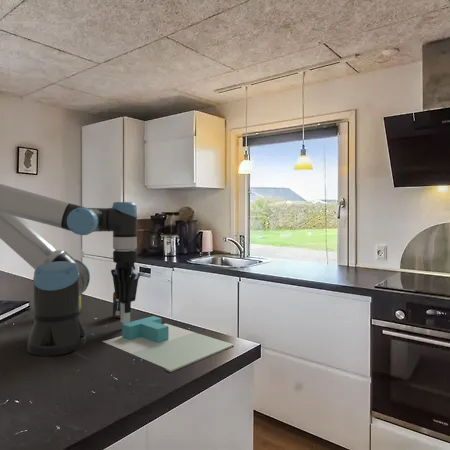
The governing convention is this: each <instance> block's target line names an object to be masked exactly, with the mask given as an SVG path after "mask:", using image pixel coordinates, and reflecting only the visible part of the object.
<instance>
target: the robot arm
mask: <svg viewBox="0 0 450 450" xmlns="http://www.w3.org/2000/svg"><path fill="white" fill-rule="evenodd" d="M24 219H25V220H24ZM26 220H29V221H33V222H37V223H40V224H45V225H48V226H51V227H54V228H55V227H56V228H59V229H62V230H65V231H68V232H69V231H70V232H72V233H73V234H75V235H79V236H88V235H90V234H92V233H96V232H99V233H100V232H112V249H113V251H112V260H113V263H114V264H115V268H113V269H111V270H110V272H111V275H112V280H113V281H112V282H113V287H114V288H113V289H114V292H115V297H116V299H118V300H119V302H120V315H121V318H120V323H121V324H124V323H128V322H131V312H132V311H131V310H132V309H131V304H132V302H135V301H136V299H137V298H136V297H137V290H138V283H139V279H140V276H141V273H140V272H137V271H136V266H135V263H136V262H137V261H138V251H137V248H138V243H137V242H138V241H137V239H138V212H137V204H136V203H135V202H134V201H133V202H131V201H114V202H113V203H112V206H111V207H107V208H105V207H103V208H102V207H86V206H85V207H84V206H82V205H78V204H73V203H69V202H66V201H64V200H59V199H55V198H53V197H50V196H49V197H48V196H46V195H42V194H37V193H34V192H31V191H27V190H23V189H20V188H17V187H13V186H9V185H6V184H2V183H0V240H1V241H3V243H5V244H6V245H7V246H8V247H9V248H10V249H11V250H13V251H14V252H15V253H16V254H17V255H18V256H19V257H20V258H21V259H22V260H24V261H25V262H26V263H27V264H28V265H29V266H30V267H31V268H33V269H34V272H33V279H32V282H33V303H34V304H33V309H34V311H33V312H34V313H33V314H34V315H33V316H34V318H33V320H34V322H33V325H32V328H31V331H30V333H29V336H28V340H27V353H29V354H31V355H34V356H40V357H48V356H49V357H52V356H59V355H65V354H70V353H72V352H75V351H76V350H79V349H81V348H82V347H84V346H85V345H86V342H87V339H86V337H87V336H86V333H85V330H84V328H83V325H82V322H81V319H80V313H79V296H80V295H81V296H82V294H83V293H84V292H85V291H86V290H87V288H88V287H89V285H90V281H91V275H90V270H89V268H88V267H87V265H86V264H85V263H84V262H82V261H81V260H79V259H75V258H73V256H71V255H70V254H69V253H68V252H67V251H66V250H61V249H60V250H58V249H56V248H55V247H54V246H53V245H52V244H51V243H50V242H49V241H47V240H46V238H45V237H43V236H42V235H41V234H40V233H39V232H38V231H36V230H35V228H34V227H32V226H31V225H30V224H29V223H28V222H27V221H26Z"/></svg>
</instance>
